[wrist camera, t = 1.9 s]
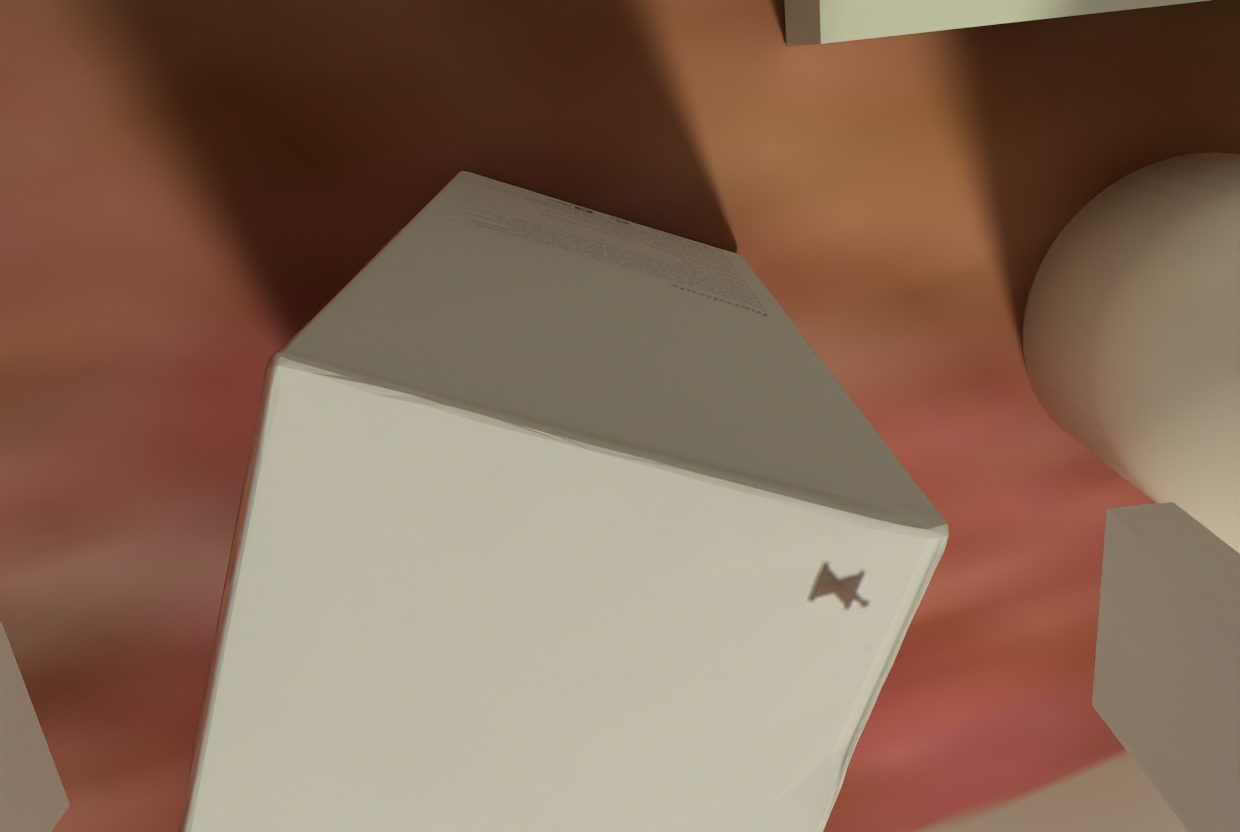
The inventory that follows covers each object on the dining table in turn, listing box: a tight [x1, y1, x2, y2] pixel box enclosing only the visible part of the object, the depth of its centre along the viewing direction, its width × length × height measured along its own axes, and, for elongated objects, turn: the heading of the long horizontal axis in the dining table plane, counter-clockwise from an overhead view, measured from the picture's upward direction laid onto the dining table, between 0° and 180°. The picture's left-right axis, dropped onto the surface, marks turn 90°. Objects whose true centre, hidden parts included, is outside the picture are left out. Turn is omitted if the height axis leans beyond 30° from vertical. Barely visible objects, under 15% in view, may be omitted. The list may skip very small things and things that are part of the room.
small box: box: [179, 171, 949, 832], centre depth 16 cm, size 8×6×13 cm
